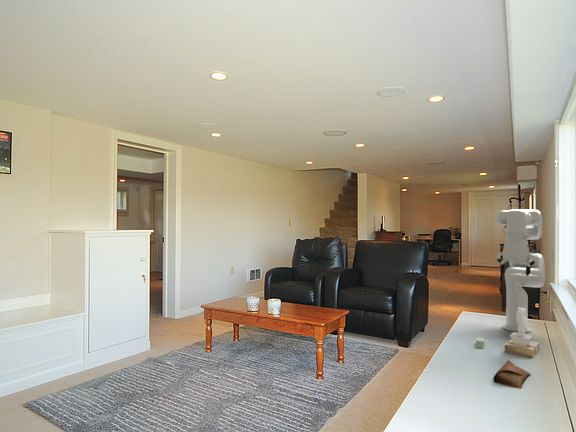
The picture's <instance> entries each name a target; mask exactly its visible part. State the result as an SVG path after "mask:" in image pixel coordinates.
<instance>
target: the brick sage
mask: <svg viewBox="0 0 576 432" xmlns="http://www.w3.org/2000/svg"><path fill="white" fill-rule="evenodd" d="M475 348H477V349H478V348H480V349H484V348H485V338H483V337H477V336H476V339H475Z"/></svg>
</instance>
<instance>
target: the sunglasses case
mask: <svg viewBox="0 0 576 432" xmlns="http://www.w3.org/2000/svg"><path fill="white" fill-rule="evenodd" d="M530 376H531V373H530V372H528V371H526V370H525V369H523V368H521V367H520V366H517V365H516V364H515V363H513V362H512V361H510V360H508V361H506V362H505V363H504V364H503V365H502V366H501V367H500V368H499V369H498V370H497V371H496V373H495V374H494V375H493V382H494V383H495V384H499V385H502V386H506V387H511V388H516V389H520V390H521V389H522V387H523V384H524V382H525V381H526V380H527V379H528V377H530Z"/></svg>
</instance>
